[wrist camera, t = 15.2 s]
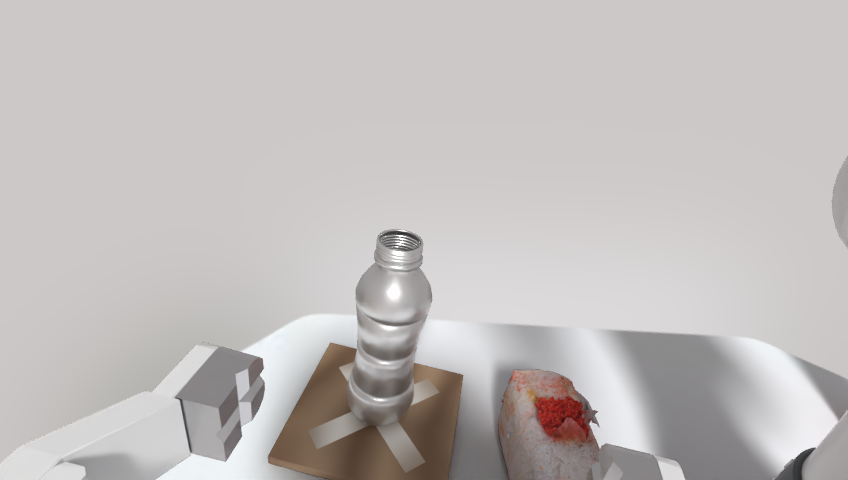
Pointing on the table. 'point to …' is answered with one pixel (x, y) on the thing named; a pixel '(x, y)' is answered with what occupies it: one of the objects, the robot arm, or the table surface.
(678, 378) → the table surface
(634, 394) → the table surface
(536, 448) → the food item
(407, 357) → the plastic bottle
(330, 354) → the brown board with cross
